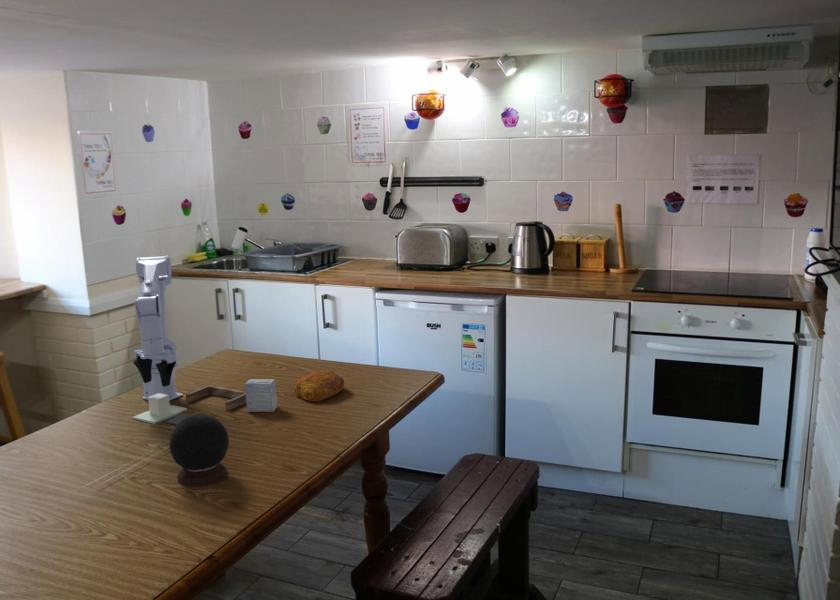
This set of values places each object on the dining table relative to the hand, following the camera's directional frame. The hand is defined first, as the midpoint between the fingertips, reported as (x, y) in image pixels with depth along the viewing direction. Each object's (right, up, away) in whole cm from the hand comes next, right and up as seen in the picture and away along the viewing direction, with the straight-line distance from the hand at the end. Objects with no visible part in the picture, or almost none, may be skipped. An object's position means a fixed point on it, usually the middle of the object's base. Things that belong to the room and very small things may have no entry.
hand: (156, 383), depth 215 cm
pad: (0, -9, +2) cm, 9 cm away
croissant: (+44, -5, +16) cm, 47 cm away
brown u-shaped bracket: (+15, -7, +12) cm, 20 cm away
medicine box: (+30, -8, +3) cm, 31 cm away
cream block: (0, -9, +2) cm, 9 cm away
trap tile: (+8, -10, -3) cm, 13 cm away
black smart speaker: (+25, -17, -40) cm, 50 cm away
